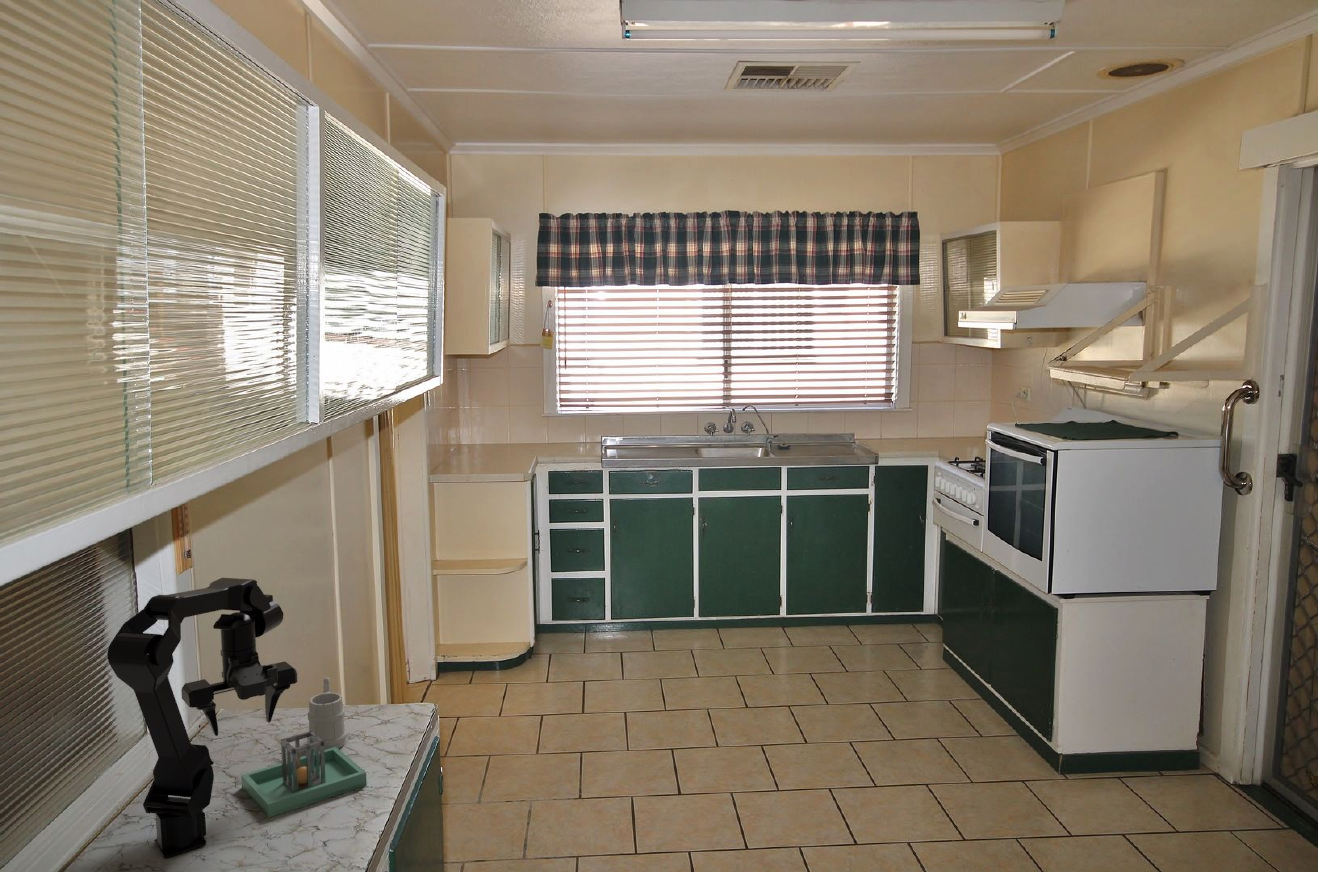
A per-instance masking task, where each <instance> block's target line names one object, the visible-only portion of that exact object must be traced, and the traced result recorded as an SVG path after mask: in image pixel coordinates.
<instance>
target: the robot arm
mask: <svg viewBox="0 0 1318 872" xmlns="http://www.w3.org/2000/svg"><path fill="white" fill-rule="evenodd" d="M216 611H234V612H232V613H230V614H229V613H228V614H225V613H221V614H220V617H219V618H218V619H217V620H216V621H215V623H214V624H213V626H212V627H213V629H214V630H220V640H221V641H220V642H221V645H220V646H221V650H220V657H221V662H222V671H221V678H222V680H223V681H219V682H215V683H211V684H210V683H209V681H208V680H206V679H205V678H204V679H198V680H195V681H190V682H187V683H184V684H183V686H182V687H181V689H180V690H181V699H182V700H183V701H184V703H185V704H186V705H187V707H188V708H192V709H193V708H195V709H196V710H197V711H202V712H203V715H205V717H206V719H207V722H208V724H209V726H210V728H211V730H212V733H213V735H214V736H215V737H218V736H219V726H218V724H219V723H218V720H217V719H218V718H217V712H216V707H217V704H216V702H214V699H215V695H218V694H222V693H227V692H231V691H235V693H236V694H237V698H238V699H240V700H241V701H243V700H244V701H245V700H249V699H250V698H254V697H258V696H259V697H261V696H264V707H265V708H264V711H265V712H264V713H265V718H266V722H268V723H271V722H272V718H273V715H274V714H275V713H274V712H275V709H276V707H277V704H278V701H279V699H280V697H281V695H282V693H283V692H285V691H286V690H289V689H290V688H291V685H295V684H297V683H298V672H297V669H296V668H295V667H293V666H292V665H291V664H290V663H288V662H287V661H281V662H277V663H270V664H263V665H262V663H261V662H260V657H259V653H258V652H257V638H259V637H261V636H263V635H265V634H268V633H269V632H270V631H272V630H274V629H276V628H277V627H279V626H280V625H281V624H282V622H283V620H284V611H283V609H282V608H281V606H280V605H279V603H277V602H276V601H274V597H273V594H264V592H263V591H262V589H261V587H260V586H259V585H258V581H257V580H256V579H253V578H251V579H250V578H235V577H221V578H218V579H217V580H214V581H211V582H210V583H209V584H208V587H204V588H198V589H193V590H187V591H181V592H175V593H170V594H157V595H154V596H152V597H150V599H149V600H148V601H147V603H146V605H145V606H144V608H142V609H141V610H140V611H139V612H137V613H136V614H134V615H133V616H132V617H130V618H129V619H128V620H126V621H125V622H124V623H123V624H122V626H121V627H120V629H118V632H117V633H116V634H115V636H114V637H113V639H112V641H111V642H110V644H109V646H108V648H107V655H106V657H107V662H108V664H109V666H110V668H111V669H112V671H113V673H114V675H115V676H116V677H117V678H118V679H119V680H121V681H122V682H123V683H124V684H125V685H127V686H128V687H129V688H130V689H132V691H133V692H134V693H135V694H134V695H135V697H136V700H137V703H138V705H139V708H140V711H141V713H142V716H143V719H144V722H145V724H146V727H147V730H148V732H149V735H150V738H151V740H152V744H153V746H154V748H155V751H156V754H157V760H156V762H155V764H154V767H153V770H152V775H153V781H152V783H151V784H150V787H149V789H148V791H147V795H146V796H145V798H144V801H143V803H142V806H143V809H144V811H145V813H146V814H149V815H150V814H155V825H156V826H155V827H156V828H155V829H156V838H154V845H155V846H156V847H157V849H158V851H159V853H160V854H161V855H162V857H163V858H164V859H167V858H171V857H173V856H177V855H180V854H183V853H185V852H188V851H191V850H192V851H193V850H194V849H197V848H201V847H203V846H206V845H207V840H206V838H205V837H206V836H207V826H206V825H207V823H206V812H204V809H206V808H207V807H209V806H210V803H211V800H212V799H211V798H212V792H213V785H214V779H215V774H214V769H213V766H212V765H214V763H215V762H214V761H213V759H212V758H211V756H210V751H209V747H207V745H206V744H196V743H195V744H193V743H191V740H190V738H189V734H188V732H187V729H186V726H185V723H184V721H183V717H182V714H181V712H180V708H179V705H178V702H177V700H176V697H175V694H174V691H173V689H172V686H171V683H170V679H169V674H170V672H171V669H172V667H173V664H174V662H175V661H174V656H173V655H174V654H173V653H174V652H175V651H176V649H177V647H178V646H179V644H180V643H181V641H182V633H181V632H182V628H181V627H182V626H181V625H182V622H183V621H184V619H186V618H190V617H194V616H198V615H199V616H200V615H203V614H207V613H213V612H216ZM158 621H167V628H166V630H165V631H164V633H163V634H160V633H149V632H148V633H147V632H146V631H147V630H149V629H150V628H152V626H154V625H155V624H156V623H157V622H158Z"/></svg>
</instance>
